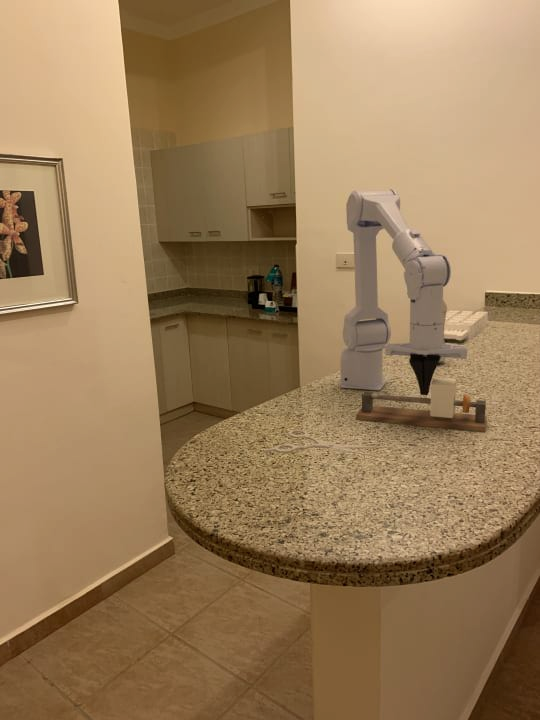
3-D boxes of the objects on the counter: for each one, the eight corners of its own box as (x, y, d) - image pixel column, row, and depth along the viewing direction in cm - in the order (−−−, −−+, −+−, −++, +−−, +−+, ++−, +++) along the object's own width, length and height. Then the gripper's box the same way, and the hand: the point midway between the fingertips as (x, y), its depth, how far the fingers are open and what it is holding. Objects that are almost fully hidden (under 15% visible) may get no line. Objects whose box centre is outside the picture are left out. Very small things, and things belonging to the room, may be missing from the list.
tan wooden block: (430, 416, 101) (430, 384, 99) (433, 408, 104) (434, 377, 103) (452, 418, 99) (453, 385, 98) (455, 410, 103) (456, 379, 101)
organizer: (488, 311, 190) (465, 330, 161) (487, 325, 191) (464, 346, 162) (449, 310, 197) (421, 328, 168) (449, 323, 198) (421, 343, 169)
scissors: (284, 428, 103) (390, 438, 95) (284, 432, 103) (390, 442, 95) (262, 450, 93) (377, 463, 85) (262, 454, 93) (377, 468, 86)
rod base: (356, 419, 106) (355, 392, 105) (363, 409, 111) (363, 383, 110) (484, 432, 96) (486, 402, 95) (486, 420, 102) (487, 392, 100)
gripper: (381, 325, 98) (381, 396, 102) (466, 327, 92) (463, 403, 96) (389, 319, 105) (389, 386, 108) (469, 320, 99) (466, 391, 102)
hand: (424, 393), depth 102 cm, fingers closed
